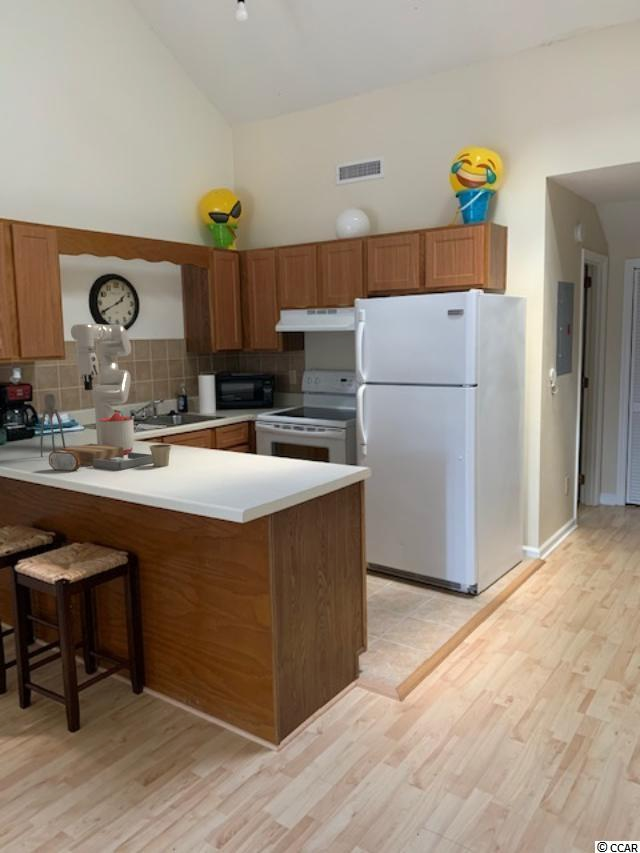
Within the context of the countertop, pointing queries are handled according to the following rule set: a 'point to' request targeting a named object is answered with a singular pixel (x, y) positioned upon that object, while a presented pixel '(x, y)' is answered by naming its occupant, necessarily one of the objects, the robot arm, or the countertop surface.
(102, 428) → the citrus juicer
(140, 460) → the tray
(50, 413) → the juicer
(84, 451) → the board
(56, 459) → the tin
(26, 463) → the countertop surface
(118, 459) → the tile
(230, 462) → the countertop surface
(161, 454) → the flower pot
